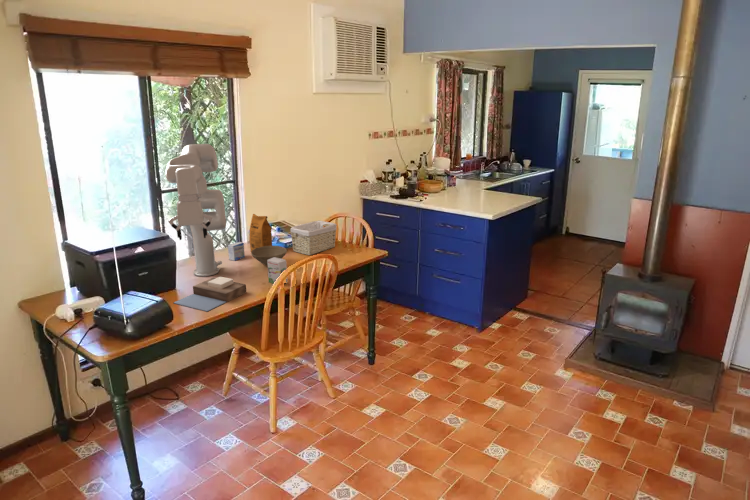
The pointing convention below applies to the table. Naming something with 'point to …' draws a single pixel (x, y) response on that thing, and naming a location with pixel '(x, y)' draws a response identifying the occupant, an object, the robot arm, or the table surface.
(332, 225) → the storage basket
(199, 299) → the mat
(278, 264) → the ink box
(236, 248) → the medicine box
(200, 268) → the robot arm
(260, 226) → the coffee package
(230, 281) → the coaster
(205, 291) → the brown flat block
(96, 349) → the table surface
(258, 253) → the bowl
